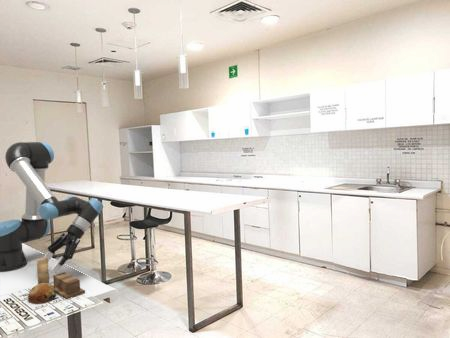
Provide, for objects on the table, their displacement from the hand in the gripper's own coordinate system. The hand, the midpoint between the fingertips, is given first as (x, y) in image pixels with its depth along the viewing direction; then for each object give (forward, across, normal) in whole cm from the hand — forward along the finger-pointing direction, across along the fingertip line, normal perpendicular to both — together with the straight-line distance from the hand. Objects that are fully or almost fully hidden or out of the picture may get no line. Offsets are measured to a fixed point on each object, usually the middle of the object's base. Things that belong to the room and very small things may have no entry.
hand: (47, 268), depth 154 cm
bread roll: (+11, -12, -1) cm, 16 cm away
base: (+4, -13, -7) cm, 15 cm away
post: (+7, +1, -4) cm, 8 cm away
